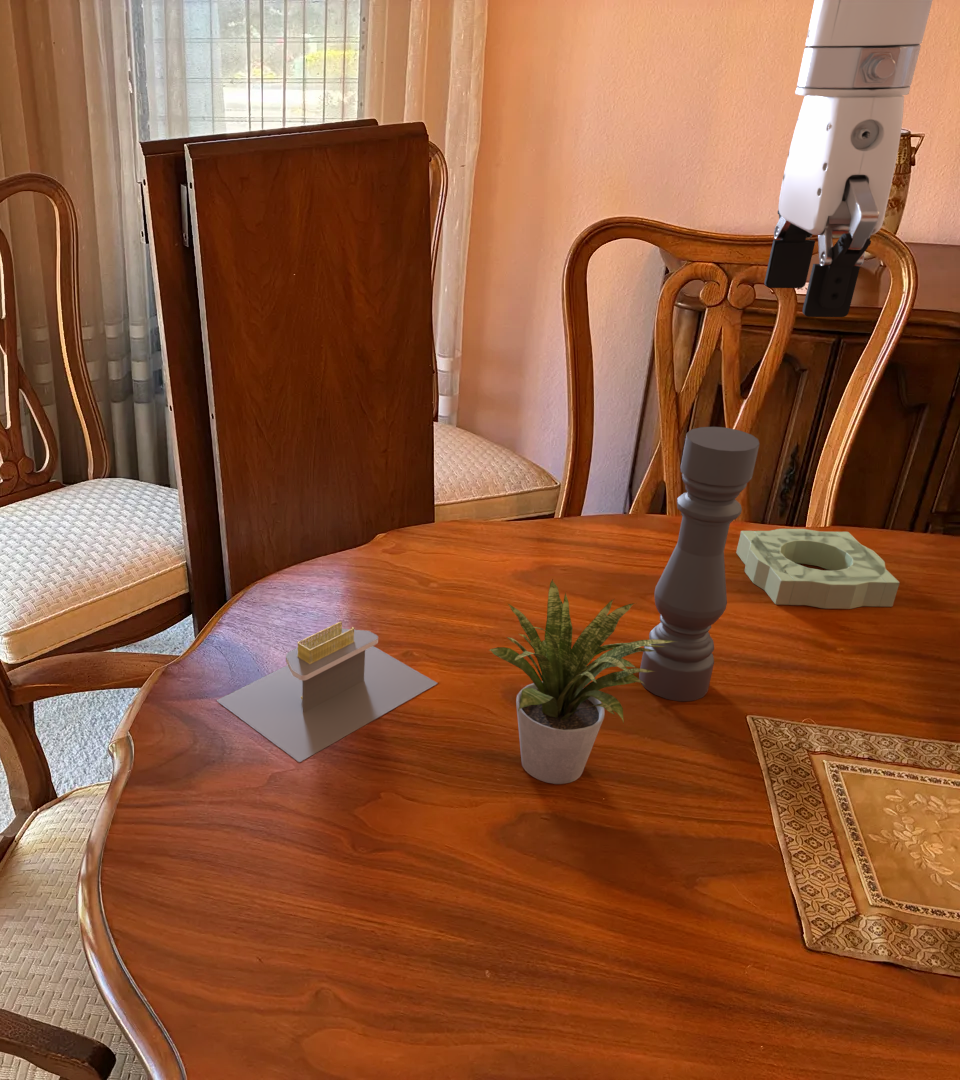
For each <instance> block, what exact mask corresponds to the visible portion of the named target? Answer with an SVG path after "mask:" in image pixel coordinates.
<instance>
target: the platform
mask: <svg viewBox="0 0 960 1080" xmlns="http://www.w3.org/2000/svg"><path fill="white" fill-rule="evenodd" d="M378 643H379V636H378V634H377V633H374V632H372V631H370V630H365V629H355V627H354V626H351V627H350V628H343V622H342V621H338V622H335V623H334V624H332V625H330V626H328V627H326V628H324V629H322V630H319V631H317V632H315V633H313V634H311V635H309V636H307V637H304V638H303V639H301V640H299V641H297V642H296V644H297V647H295V648H294V649H292V650H289V651H288V652H287V653H286V654H285V663H286V665H285V666H283V667H281V668H279V669H277V670H275V671H273V672H271V673H269V674H267V675H264V676H263V677H260V678H258V679H257V680H254V681H252V682H250V683H248V684H246V685H245V686H242V687H241V688H238V689H236V690H235V691H233V692H230V693H228V694H226V695H224V696H222V697H220V698H218V699H216V702H217V703H219V704H220V705H221V706H223V707H224V708H225V709H227V710H228V711H229V712H231V713H232V714H234V715H235V716H236V717H237V718H239V719H240V720H242V722H244V723H245V724H247V725H248V726H249V727H251V728H252V729H254V730H255V731H256V732H258V733H260V735H262V736H263V737H264V738H266V739H267V740H268V741H270V743H272V744H274V745H275V746H277V748H279V749H281V750H282V751H283V752H285V754H287V755H289V756H290V757H291V758H292V759H294V760H296V762H298V763H301V762H303V761H305V760H306V759H308V758H310V757H312V756H313V755H315V754H317V753H319V752H320V751H322V750H324V749H326V748H327V747H329V746H331V745H332V744H335V743H336V742H338V741H339V740H341V739H343V738H345V737H346V736H348V735H350V734H352V733H354V732H355V731H357V730H359V729H361V728H362V727H364V726H366V725H368V724H370V723H371V722H373V721H375V720H376V719H379V718H380V717H382V716H383V715H385V714H387V713H389V712H390V711H392V710H394V709H395V708H397V707H399V706H401V705H403V704H405V703H406V702H408V701H410V700H412V699H413V698H415V697H416V696H418V695H420V694H422V693H424V692H425V691H427V690H429V689H431V688H433V687H434V686H436V685H438V682H437V681H435V680H434V679H432V678H430V677H429V676H427V675H425V674H424V673H421V672H419V671H418V670H416V669H414V668H412V667H411V666H409V665H408V664H405V663H404V662H403V661H401V660H399V659H397V658H395V657H393V656H392V655H390V654H388V653H386V652H385V651H383V650H381V649H379V648H378V647H376V645H377V644H378Z"/></svg>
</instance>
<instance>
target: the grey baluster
mask: <svg viewBox="0 0 960 1080" xmlns="http://www.w3.org/2000/svg"><path fill="white" fill-rule="evenodd" d="M759 448H760V441H759V438H757V437H755V436H754V435H753V434H751V433H748V432H745V431H743V430H739V429H735V428H730V427H724V426H723V427H722V426H700V427H697V428H696V427H695V428H692V429H690V430H688V432H686V434H685V440H684V445H683V450H682V455H681V461H680V467H679V469H680V473H681V477H682V478H681V479H682V482H683V484H684V486H685V492H683V493H682V494H680V495H679V496H678V497H677V499H676V508H677V510H678V511H679V512H680V513H681V516H682V517H681V521H680V527H679V533H678V536H677V537H678V538H677V543H676V544H675V547H674V549H673V551H672V553H671V555H670V557H669V560H668V561H667V563H666V565H665V567H664V569H663V571H662V573H661V575H660V578H659V579H658V581H657V583H656V585H655V588H654V604H655V607H656V610H657V612H658V613H659V621H660V622H659V623H658V624H657V625H655V626H654V627H653V628H652V629H651V630H650V631H649V633H648V638H649V639H648V640H652V639H659V640H670V641H676V642H670V643H662V644H649V645H654V646H665V647H646V646H643V648H646V649H651V650H654V651H652V652H645V651H642V657H641V661H640V666H639V667H640V669H646V670H651V671H655V672H640V673H639V672H638V679H639V680H641V681H642V682H643V683H644V684H645V685H646V686H645V685H644V684H643V683H641V685H642V686H643V688H644V689H646V690H647V691H649V692H650V693H651V694H653V695H655V696H657V697H660V698H662V699H664V700H665V699H666V700H670V701H674V702H675V701H676V702H694V701H697V700H700V699H702V698H704V697H705V696H706V694H707V693H708V692H709V687H710V683H711V679H712V674H713V670H714V665H715V657H714V654H713V652H714V651H715V642H714V639H713V638H712V637H711V635H710V633H709V631H710V630H711V629H712V625H714V624H715V623H716V622H717V621H718V620H720V618H721V617H722V616H723V614H724V613H725V611H726V610H727V604H728V596H727V595H728V594H727V583H726V582H727V581H726V564H725V548H726V544H727V539H728V534H729V530H730V524H731V523H732V522H733V521H735V520H737V519H738V518H739V517H740V516H741V514H742V511H743V509H742V508H743V507H742V505H741V503H740V502H739V501H738V500H737V498H738V497H739V496H740V494H741V493H742V492H743V491H744V490H745V489H746V488H747V486H748V483H749V482H750V481H751V480H752V479H753V475H754V471H755V466H756V461H757V457H758V453H759Z"/></svg>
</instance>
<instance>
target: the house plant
mask: <svg viewBox="0 0 960 1080" xmlns="http://www.w3.org/2000/svg"><path fill="white" fill-rule="evenodd" d="M563 597H564V598H563V601H562V599H561V596H560V591H559V587H558V586H557V584H556V583H555V582H554V578H552V579H551V581H550V584H549V588H548V595H547V606H546V623H545V629H544V628H543V627H537V626H534V625H533V624H532V623H531V621H530V620H529V619H528V618H527V617H526V615H525V614H524V613H523V611H522V612H521V610H520V609H518V608H516V607H514V606H513V605H512V604H509V603H507V605H508V606H509V608H510V610H511V612H512V613H513V614H514V615H515V616H516V617H517V619H518V622H519V624H520V626H521V628H522V630H523V631H524V633H525V634H521V633H518V635H519V636H521V637H523V639H524V640H525V641H526V642H527V643H528V644H529V645H530V647H531V648H532V650H533V652H532V651H528V650H527V649H526V647H524V646H523V645H522V644H521V643H520V642H519V641H517V640H516V639H515V638H514V637H508V636H507V637H506V638H507V639H508V640H509V641H510V642H511V643H513V644H514V645H516V646H517V647H518V648H519V649H520V650H521V653H520V654H519V653H518V652H517V651H516V650H514V649H512V648H510V647H505V646H500V647H499V646H497V647H494V648H490V649H489V650H488V651H489V652H491V653H492V654H493V655H494V656H496V657H498V658H500V659H501V660H503V661H505V662H507V663H508V664H509V663H510V664H511V665H513V666H515V667H517V668H518V669H519V670H521V671H523V672H524V673H525V674H526V676H527V677H529V678H530V680H531V681H532V683H529V684H527V685H526V686H524V687H523V688H521V689H520V690H519V692H518V693H517V694H516V698H515V699H516V701H515V704H516V716H517V725H518V727H517V728H518V737H519V749H520V757H521V758H520V760H521V766H522V768H523V769H524V771H525V772H526V773H527V774H529V775H530V776H531V777H533V778H534V779H537V780H538V781H541V782H543V783H548V784H552V785H553V784H554V785H565V784H569V783H570V784H571V783H572V782H575V781H577V780H578V779H580V778H581V776H582V774H583V773H584V770H585V767H586V765H587V762H588V759H589V757H590V755H591V752H592V749H593V747H594V743H595V742H596V739H597V736H598V734H599V731H600V729H601V726H602V724H603V721H604V719H605V713H606V711H607V712H609V713H610V714H612V715H613V716H616V714H617V715H618V716H619V718H621V720H622V723H623V724H624V723H625V722H624V708H623V705H622V703H621V702H620V701H619V700H618V698H617V697H615V696H614V695H612V694H610V693H607V692H605V691H602V690H603V689H606V688H610V687H617V686H622V685H629V684H635V683H640V684H642V683H643V682H642V681H641V680H639V677H637V676H636V675H635V674H636V673H637V674H639V673H640V672H655V671H651V670H646V669H640V668H639V667H637V666H635V665H634V664H633V663H632V662H631V661H630V660H627V659H625V657H627V656H631V655H632V654H635V653H640V652H643V651H645V652H652V651H654V650H651V649H646V648H644V646H646V647H665V646H654V645H649V644H662V643H670V642H676V641H670V640H659V639H652V640H649V639H640V640H635V641H630V642H616V643H609V644H604V643H605V642H606V641H607V639H609V638H610V636H612V635H613V633H614V632H615V630H616V628H617V625H618V623H619V621H620V619H621V618H623V616H624V615H625V614H626V613H627V612H629V610H630V609H631V608H632V606H633V605H635V604H637V602H635V603H628V604H625V605H622V606H620V607H617V608H616V609H614V610H613V611H611V609H612V604H613V601H614V600H615V598H614V599H611V600H610V601H609V602H608V603H607V604H606V605H605V606H604V607H603V608H602V609H601V610H600V611H599V612H598V613H597V615H596V616H595V617H594V618H593V619H592V620H591V622H590V623H589V624H587V626H586V627H585V628H584V629H583V630H582V631H581V634H579V636H578V637H577V638H576V640H575V642H574V643H573V624H572V618H571V614H570V603H569V599H568V596H567V592H565V593H564V596H563ZM610 611H611V612H610ZM536 629H537V630H541V631H544V639H543V640H541V637H540V636H539V634H538V631H537V630H536ZM572 644H573V646H572ZM603 644H604V645H603ZM603 652H604V653H603ZM601 653H603V654H601ZM600 654H601V655H600ZM532 655H533V656H534V657H535V658H536V660H537V662H536V661H535V659H534V658H533V656H532ZM598 655H599V656H598ZM597 656H598V657H597ZM524 657H527V658H528V659H529V660H530V661H531V662H532V664H533V666H532V665H531V663H530V662H529V661H528V660H527V659H526V658H524ZM595 657H596V659H594V658H595ZM593 659H594V660H593ZM592 660H593V661H592ZM591 661H592V662H591ZM590 662H591V663H590ZM534 667H535V668H534ZM616 667H618V668H619V669H621V670H622V671H620V670H619V671H613V672H610V673H607V674H604V675H602V676H600V677H598V678H596V677H597V676H598V675H599V674H600V673H601V672H603V671H604V670H606V669H609V668H616ZM628 667H629V668H628ZM643 684H644V683H643ZM644 685H645V684H644ZM645 686H646V685H645Z"/></svg>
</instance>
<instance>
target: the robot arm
mask: <svg viewBox="0 0 960 1080" xmlns="http://www.w3.org/2000/svg"><path fill="white" fill-rule="evenodd" d="M932 4H933V0H814V1H813V6H812V11H811V15H810V20H809V25H808V29H807V34H806V39H805V44H804V46H805V47H804V49H803V53H802V54H803V55H802V59H801V64H800V68H799V73H798V78H797V82H796V88H795V92H794V94H795V95H797V96H802V97H803V100H802V104H801V107H800V110H799V114H798V117H797V119H796V123H795V128H794V132H793V134H792V139H791V143H790V146H789V150H788V154H787V158H786V163H785V167H784V172H783V175H782V181H781V185H780V192H779V198H778V210H777V215H778V221H777V223H776V225H775V226H774V230H773V240H772V245H771V250H770V253H769V257H768V263H767V268H766V272H765V278H764V283H763V284H764V286H765V287H766V288H769V289H802V288H804V287H805V286H806V283H807V279H808V275H809V270H810V266H811V262H812V257H813V254H814V249H815V246H816V245H815V244H816V240H815V239H811V238H812V237H813V235H814V236H817V245H818V263H812V266H811V267H812V268H811V271H810V276H809V281H808V284H807V289H806V293H805V294H806V295H805V298H804V302H803V307H802V314H803V315H804V316H805V317H807V318H845V317H846V316H848V314H849V313H850V309H851V305H852V301H853V297H854V294H855V293H854V292H855V289H856V285H857V281H858V277H859V273H860V270H861V266H863V264H864V263H865V258H866V254H865V253H866V252H867V250H868V248H869V246H871V243H872V240H871V239H872V238H871V236H873V235H875V234H876V233H877V232H879V231H880V230H881V229H882V228H883V227H882V226H883V224H884V222H885V221H884V220H885V216H886V212H887V211H886V210H887V208H888V203H889V198H890V194H891V189H892V184H893V179H894V174H895V169H896V163H897V158H898V153H899V149H900V148H899V147H900V141H901V136H902V129H903V128H902V127H903V120H904V119H903V118H904V108H905V107H904V106H905V96H907V95H909V94H910V92H911V91H910V90H911V86H912V84H913V79H914V75H915V71H916V68H917V67H916V66H917V63H918V59H919V55H920V51H921V48H922V45H921V44H922V43H923V40H924V36H925V32H926V27H927V24H928V20H929V16H930V13H931V12H930V11H931V8H932ZM833 239H837V241H836V242H835V244H834V245H833Z"/></svg>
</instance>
